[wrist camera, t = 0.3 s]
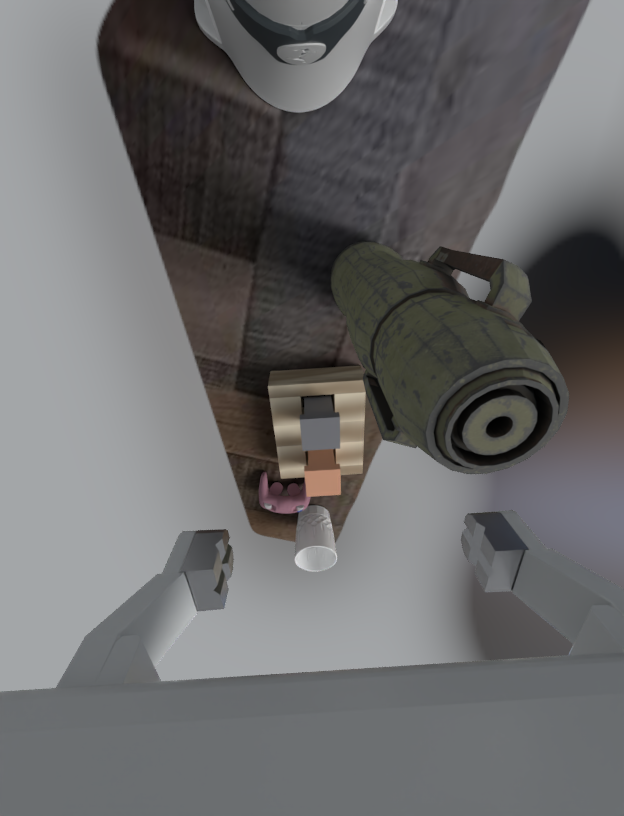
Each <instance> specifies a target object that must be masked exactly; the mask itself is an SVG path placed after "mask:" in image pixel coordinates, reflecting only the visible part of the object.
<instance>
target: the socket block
mask: <svg viewBox="0 0 624 816" xmlns="http://www.w3.org/2000/svg"><path fill="white" fill-rule="evenodd" d="M363 376H364V374H363V371H362V369H361V366H344V367H328V368H313V369H297V370H282V371H270V377H269V382H268V391H269V398H270V405H271V412H272V419H273V426H274V433H275V440H276V447H277V454H278V461H279V468H280V475H281V479H285V478H301V477H305V473H304V466H308V451H302V439H301V428H300V415H301V414H304V407H303V408H302V396H315V395H331V394H332V405H333V410H334V412H339V415H340V449H333V452H334V459H335V464H340V475H348V474H362V470H363V444H364V418H365V392H366V391H365V387H364V382H363Z"/></svg>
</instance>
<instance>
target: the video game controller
mask: <svg viewBox="0 0 624 816" xmlns="http://www.w3.org/2000/svg"><path fill="white" fill-rule="evenodd" d="M282 490H283V486H282V484H281V483H278V482H275V483H273V484H272V486H271V487H270V489H269V488H268V481H267V474H266V472H263V473H262V475H261V478H260V484H259V503H260V505H261V506H262V507H263V508H265V509H268V510H270V511H272V512H276V513H283V514H288V513H295V512H301V511H303V510H305V509H306V508H307V506H308V504H309V501H310V497H307V495H306V484H305V479H304V483H303V487H302V491H301V490H300V489H299V487H298V485H297V484H295V483H292V484H290V485H289V486H288V488H287V492H288V495H289V496H279V495H280V494H281V493H282Z"/></svg>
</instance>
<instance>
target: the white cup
mask: <svg viewBox="0 0 624 816" xmlns="http://www.w3.org/2000/svg"><path fill="white" fill-rule="evenodd" d="M336 561H337V554H336V547H335V541H334V534H333V529H332V524H331V520H330V514H329V512H328V510H327V509H325V508H324V507H322V506H318V505H310V506H307V508H306V509H305V510H303V511H301V512H299V514H298V522H297V531H296V544H295V563H296V565H297V566H298V567H300V568H301V569H303V570H306V571H313V572H317V571H323V570H326V569H328V568H330V567H332V566H333V565H334V564H335V563H336Z"/></svg>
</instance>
